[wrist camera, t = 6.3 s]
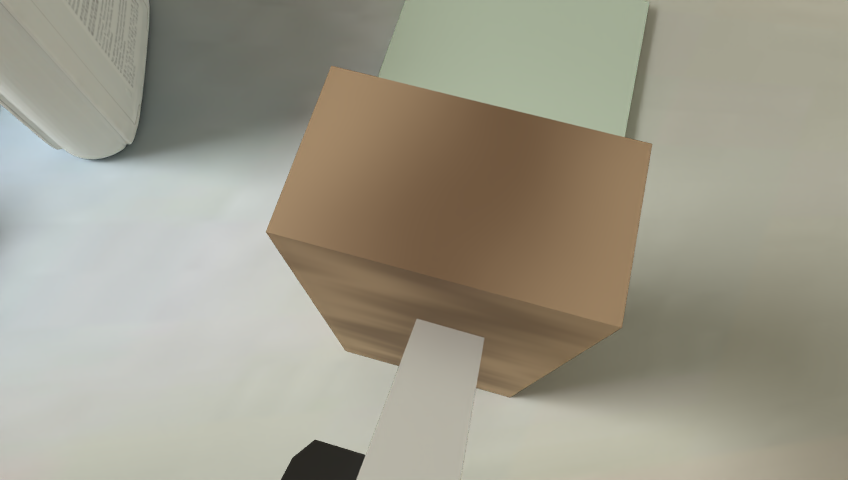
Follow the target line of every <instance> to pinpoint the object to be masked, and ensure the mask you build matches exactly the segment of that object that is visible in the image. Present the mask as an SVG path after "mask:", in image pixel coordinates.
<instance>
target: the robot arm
mask: <svg viewBox="0 0 848 480" xmlns="http://www.w3.org/2000/svg"><path fill="white" fill-rule="evenodd" d="M483 344H484V338H483V337H480V336H476V335H473V334H469V333H466V332H462V331H459V330H455V329H452V328H448V327H445V326H441V325H437V324H434V323H430V322H427V321H423V320H420V319H416V322H415V325H414V327H413V330H412V333H411V335H410V338H409V341H408V343H407V346H406V349H405V351H404V354H403V357H402V359H401V362H400V365H399V367H398V370H397V373H396V375H395V378H394V381H393V383H392V386H391V389H390V391H389V394H388V397H387V399H386V402H385V405H384V407H383V410H382V413H381V415H380V418H379V421H378V423H377V426H376V429H375V431H374V434H373V437H372V439H371V442H370V445H369V447H368V450H367V453H366V455H364V454H361V453H357V452H354V451H351V450H347V449H344V448H341V447H338V446H334V445H331V444H328V443H324V442H321V441H318V440H314V441H313V442H312V443H310V444H309V445H308V446H307V447H305V448H304V449H303V450H302V451H300V452H299V453H298V454H297V455H295V456H294V457H293V458H292V460H291V462H290V464H289V465H288V467H287V469H286V471H285V473H284V475H283V477H282V479H281V480H461V475H462V469H463V463H464V457H465V451H466V445H467V439H468V433H469V427H470V421H471V415H472V409H473V403H474V397H475V391H476V385H477V379H478V373H479V368H480V362H481V356H482V350H483Z"/></svg>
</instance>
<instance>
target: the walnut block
mask: <svg viewBox="0 0 848 480" xmlns="http://www.w3.org/2000/svg"><path fill="white" fill-rule="evenodd" d="M651 148H652V144H650V143H646V142H642V141H638V140H634V139H630V138H626V137H622V136H618V135H613V134H609V133H605V132H601V131H597V130H593V129H589V128H585V127H581V126H576V125H572V124H568V123H564V122H560V121H556V120H552V119H548V118H544V117H540V116H535V115H531V114H527V113H523V112H519V111H515V110H511V109H507V108H503V107H499V106H494V105H490V104H486V103H482V102H478V101H474V100H470V99H466V98H462V97H457V96H453V95H449V94H445V93H441V92H437V91H433V90H429V89H425V88H421V87H416V86H412V85H408V84H404V83H400V82H396V81H392V80H388V79H384V78H380V77H375V76H371V75H367V74H363V73H359V72H355V71H351V70H347V69H343V68H338V67H334V66H331V68H330V70H329V73H328V75H327V78H326V80H325V83H324V85H323V88H322V91H321V93H320V96H319V98H318V101H317V103H316V106H315V108H314V111H313V113H312V116H311V118H310V121H309V124H308V126H307V129H306V131H305V134H304V136H303V139H302V141H301V144H300V146H299V149H298V152H297V154H296V157H295V159H294V162H293V164H292V167H291V169H290V172H289V174H288V177H287V179H286V182H285V185H284V187H283V190H282V192H281V195H280V197H279V200H278V202H277V205H276V207H275V210H274V213H273V215H272V218H271V220H270V223H269V225H268V228H267V230H266V233H267V234H268V236H269V237H270V239H271V240H272V242H273V243H274V245H275V246H276V248H277V249H278V251H279V252H280V254H281V255H282V257H283V258H284V260H285V261H286V263H287V264H288V266H289V267H290V269H291V270H292V272H293V273H294V275H295V276H296V278H297V279H298V281H299V282H300V284H301V285H302V287H303V288H304V290H305V291H306V292H307V294H308V295H309V297H310V298H311V300H312V301H313V303H314V304H315V306H316V307H317V309H318V310H319V312H320V313H321V315H322V316H323V318H324V319H325V321H326V322H327V324H328V325H329V327H330V328H331V330H332V331H333V333H334V334H335V336H336V337H337V339H338V340H339V342H340V343H341V345H342V346H343V348H344V349H345V351H348V352H351V353H355V354H358V355H362V356H365V357H369V358H373V359H376V360H380V361H383V362H387V363H390V364H394V365H397V366H399V365H400V362H401V359H402V357H403V354H404V351H405V349H406V346H407V343H408V341H409V338H410V335H411V333H412V330H413V327H414V325H415V322H416V319H420V320H423V321H427V322H430V323H434V324H437V325H441V326H445V327H448V328H452V329H455V330H459V331H462V332H466V333H469V334H473V335H476V336H480V337H483V338H484V344H483V350H482V356H481V362H480V368H479V373H478V379H477V385H476V388H479V389H482V390H486V391H489V392H493V393H496V394H500V395H503V396H507V397H512V396H513V395H515V394H516V393H518V392H520V391H521V390H523V389H524V388H526V387H528V386H529V385H531V384H532V383H534V382H536V381H537V380H539V379H540V378H542V377H544V376H545V375H547V374H549V373H550V372H552V371H553V370H555V369H557V368H558V367H560V366H561V365H563V364H565V363H566V362H568V361H569V360H571V359H573V358H574V357H576V356H577V355H579V354H581V353H582V352H584V351H585V350H587V349H589V348H590V347H592V346H593V345H595V344H597V343H598V342H600V341H601V340H603V339H605V338H606V337H608V336H609V335H611V334H613V333H614V332H616V331H617V330H619V329H621V328H622V324H623V318H624V312H625V305H626V299H627V293H628V287H629V281H630V275H631V269H632V263H633V257H634V251H635V245H636V239H637V233H638V227H639V221H640V215H641V208H642V202H643V196H644V190H645V184H646V178H647V172H648V166H649V160H650V154H651Z"/></svg>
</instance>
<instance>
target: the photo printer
mask: <svg viewBox="0 0 848 480" xmlns="http://www.w3.org/2000/svg"><path fill="white" fill-rule="evenodd" d="M148 32H149V0H0V104H1V105H2V106H3V107H4V108H6V109H7V110H8V111H9V112H10V113H11V114H13V115H14V116H15V117H16V118H17V119H18V120H20V121H21V122H22V123H23V124H24V125H25V126H27V127H28V128H29V129H30V130H31V131H33V132H34V133H35V134H36V135H37V136H38V137H40V138H41V139H42V140H43V141H44V142H46V143H47V144H48V145H50V146H52V147H53V148H55V149H64V150H65V151H67V152H68V153H70V154H71V155H73V156H76V157H79V158H84V159H100V158H104V157H108V156H111V155H114V154H116V153H118V152H120V151H121V150H123V149H124V148H125V147H126V144H131V143H132V142H133V140H134V138H135V134H136V131H137V127H138V123H139V118H140V111H141V102H142V95H143V85H144V76H145V66H146V56H147V44H148Z"/></svg>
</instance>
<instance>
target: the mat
mask: <svg viewBox="0 0 848 480" xmlns="http://www.w3.org/2000/svg"><path fill="white" fill-rule="evenodd" d="M648 7H649V1H644V0H405V2H404V5H403V8H402V11H401V13H400V16H399V19H398V22H397V25H396V27H395V30H394V33H393V36H392V39H391V41H390V44H389V47H388V50H387V52H386V55H385V58H384V61H383V64H382V66H381V69H380V72H379V75H378V77H380V78H384V79H388V80H392V81H396V82H400V83H404V84H408V85H412V86H416V87H421V88H425V89H429V90H433V91H437V92H441V93H445V94H449V95H453V96H457V97H462V98H466V99H470V100H474V101H478V102H482V103H486V104H490V105H494V106H499V107H503V108H507V109H511V110H515V111H519V112H523V113H527V114H531V115H535V116H540V117H544V118H548V119H552V120H556V121H560V122H564V123H568V124H572V125H576V126H581V127H585V128H589V129H593V130H597V131H601V132H605V133H609V134H613V135H618V136H622V137H625V133H626V127H627V122H628V117H629V111H630V106H631V100H632V95H633V89H634V84H635V78H636V73H637V67H638V62H639V57H640V51H641V46H642V40H643V35H644V29H645V24H646V18H647V13H648Z"/></svg>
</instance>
